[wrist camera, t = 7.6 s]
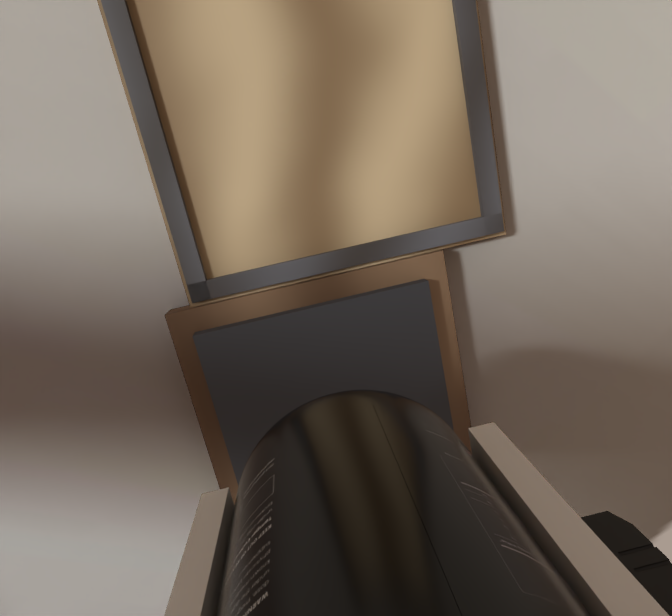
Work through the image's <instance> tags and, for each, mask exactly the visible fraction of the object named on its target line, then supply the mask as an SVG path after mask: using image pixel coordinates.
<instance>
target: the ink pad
mask: <svg viewBox="0 0 672 616" xmlns="http://www.w3.org/2000/svg"><path fill="white" fill-rule="evenodd" d="M192 337H193V340H194V343H195V346H196V350H197V353H198V356H199V359H200V363H201V366H202V369H203V372H204V376H205V379H206V382H207V385H208V389H209V392H210V395H211V398H212V402H213V405H214V408H215V411H216V415H217V418H218V421H219V425H220V428H221V431H222V434H223V438H224V441H225V444H226V447H227V451H228V454H229V457H230V460H231V464H232V467H233V470H234V473H235V477H236V480H237V483H238V486H239V483H240V479H241V476H242V472H243V470H244V467H245V465H246V462H247V460H248V459H249V457H250V455H251V453H252V451H253V450H254V448H255V447H256V445H257V444H258V442H259V441H260V440H261V439H262V437H263V436H264V435H265V434H266V432H267V431H268V430H269V429H270V428H271V427H272V426H273V425H274V424H275V423H277V422H278V421H279V420H280V419H281V418H283V417H284V416H285V415H287V414H288V413H289V412H291V411H292V410H294V409H296V408H297V407H299V406H301V405H303V404H305V403H307V402H309V401H311V400H314V399H316V398H319V397H322V396H325V395H328V394H332V393H336V392H341V391H348V390H362V389H364V390H379V391H386V392H390V393H394V394H398V395H401V396H404V397H407V398H410V399H412V400H414V401H416V402H418V403H420V404H422V405H424V406H425V407H427V408H429V409H430V410H432V411H433V412H434V413H436V414H437V415H438V416H439V417H440V418H442V419H443V420H444V421H445V422H446V423H447V424H448V425H449V426H450V427H451V429H452V430H453V431H454V429H453V423H452V417H451V411H450V405H449V399H448V393H447V387H446V381H445V376H444V370H443V364H442V358H441V352H440V346H439V340H438V334H437V328H436V322H435V317H434V311H433V305H432V299H431V293H430V287H429V281H428V280H426V279H420V280H416V281H411V282H407V283H403V284H399V285H394V286H390V287H386V288H382V289H377V290H373V291H369V292H364V293H360V294H356V295H352V296H347V297H343V298H339V299H334V300H330V301H326V302H322V303H317V304H313V305H309V306H305V307H300V308H296V309H292V310H287V311H283V312H279V313H275V314H270V315H266V316H262V317H258V318H253V319H249V320H245V321H240V322H236V323H232V324H228V325H223V326H219V327H215V328H211V329H206V330H202V331H198V332H195V333H194V335H193V336H192Z"/></svg>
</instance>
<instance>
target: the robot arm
mask: <svg viewBox="0 0 672 616" xmlns="http://www.w3.org/2000/svg"><path fill="white" fill-rule="evenodd" d="M468 431H469V438H470V444H471V450H472V455H473V456H474V458H475V459H476V460H477V462H478V463H479V464H480V466H481V467H482V468H483V470H484V471H485V472H486V474H487V475H488V476H489V478H490V479H491V481H492V482H493V483H494V485H495V486H496V487H497V489H498V490H499V491H500V493H501V494H502V495H503V497H504V498H505V499H506V501H507V502H508V504H509V505H510V506H511V508H512V509H513V510H514V512H515V513H516V514H517V516H518V517H519V518H520V520H521V521H522V522H523V524H524V525H525V526H526V528H527V529H528V531H529V532H530V533H531V535H532V536H533V537H534V539H535V540H536V541H537V543H538V544H539V545H540V547H541V548H542V549H543V551H544V552H545V554H546V555H547V556H548V558H549V559H550V560H551V562H552V563H553V564H554V566H555V567H556V568H557V570H558V571H559V572H560V574H561V575H562V576H563V578H564V579H565V581H566V582H567V583H568V585H569V586H570V587H571V589H572V590H573V591H574V593H575V594H576V595H577V597H578V598H579V599H580V601H581V602H582V604H583V605H584V606H585V608H586V609H587V610H588V612H589V613H590V614H591V616H672V564H671V563H670V561H669V559H668V558H667V557H666V556H665V555H664V554H663V553H662V552H661V551H660V550H659V549H658V548H657V547H654V546H653V544H652V543H651V542H650V541H649V540H648V539H647V538H646V537H645V536H644V535H643V534H642V533H641V532H640V531H639V530H638V529H637V528H636V527H635V526H634V525H633V524H631V523H629V522H627V521H625V520H623V519H621V518H619V517H617V516H616V515H614V514H612V513H610V512H608V511H605V512H601V513H597V514H593V515H589V516H585V517H581V518H580V517H579V515H578V514H577V513H576V512H575V511H574V510H573V509H572V508H571V507H570V506H569V504H568V503H567V502H566V501H565V500H564V499H563V498H562V497H561V496H560V495H559V493H558V492H557V491H556V490H555V489H554V488H553V487H552V486H551V485H550V483H549V482H548V481H547V480H546V479H545V478H544V477H543V476H542V475H541V474H540V472H539V471H538V470H537V469H536V468H535V467H534V466H533V465H532V464H531V463H530V461H529V460H528V459H527V458H526V457H525V456H524V455H523V454H522V453H521V452H520V450H519V449H518V448H517V447H516V446H515V445H514V444H513V443H512V442H511V441H510V439H509V438H508V437H507V436H506V435H505V434H504V433H503V432H502V431H501V429H500V428H499V427H498V426H497V425H496V424H495V423H494V422H492V423H488V424H484V425H480V426H475V427H471V428H468ZM233 511H234V502H233V499H232V496H231V493H230V490H229V487H228V488H224V489H220V490H216V491H212V492H208V493H204V494H202V495H201V498H200V502H199V505H198V508H197V511H196V515H195V518H194V521H193V524H192V528H191V531H190V534H189V537H188V541H187V544H186V547H185V550H184V554H183V557H182V560H181V563H180V567H179V570H178V573H177V576H176V580H175V583H174V586H173V589H172V592H171V596H170V599H169V602H168V605H167V609H166V612H165V615H164V616H216V613H217V607H218V601H219V595H220V589H221V583H222V577H223V571H224V565H225V559H226V553H227V547H228V541H229V535H230V529H231V523H232V517H233Z"/></svg>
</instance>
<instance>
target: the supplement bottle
mask: <svg viewBox="0 0 672 616" xmlns="http://www.w3.org/2000/svg"><path fill="white" fill-rule="evenodd" d="M216 616H591V614H590V613H589V612H588V610H587V609H586V608H585V606H584V605H583V604H582V602H581V601H580V599H579V598H578V597H577V595H576V594H575V593H574V591H573V590H572V589H571V587H570V586H569V585H568V583H567V582H566V581H565V579H564V578H563V576H562V575H561V574H560V572H559V571H558V570H557V568H556V567H555V566H554V564H553V563H552V562H551V560H550V559H549V558H548V556H547V555H546V554H545V552H544V551H543V549H542V548H541V547H540V545H539V544H538V543H537V541H536V540H535V539H534V537H533V536H532V535H531V533H530V532H529V531H528V529H527V528H526V526H525V525H524V524H523V522H522V521H521V520H520V518H519V517H518V516H517V514H516V513H515V512H514V510H513V509H512V508H511V506H510V505H509V504H508V502H507V501H506V499H505V498H504V497H503V495H502V494H501V493H500V491H499V490H498V489H497V487H496V486H495V485H494V483H493V482H492V481H491V479H490V478H489V476H488V475H487V474H486V472H485V471H484V470H483V468H482V467H481V466H480V464H479V463H478V462H477V460H476V459H475V458H474V456H473V455H472V454H471V452H470V451H469V449H468V448H467V447H466V446H465V445H464V443H463V442H462V441H461V439H460V438H459V437H458V436H457V434H456V433H455V432H454V431H453V430H452V429H451V427H450V426H449V425H448V424H447V423H446V422H445V421H444V420H443V419H442V418H440V417H439V416H438V415H437V414H436V413H434V412H433V411H432V410H430V409H429V408H427V407H425V406H424V405H422V404H420V403H418V402H416V401H414V400H412V399H410V398H407V397H404V396H401V395H398V394H394V393H390V392H386V391H379V390H364V389H362V390H348V391H341V392H336V393H332V394H328V395H325V396H322V397H319V398H316V399H314V400H311V401H309V402H307V403H305V404H303V405H301V406H299V407H297V408H296V409H294V410H292V411H291V412H289V413H288V414H287V415H285V416H284V417H283V418H281V419H280V420H279V421H278V422H277V423H275V424H274V425H273V426H272V427H271V428H270V429H269V430H268V431H267V432H266V434H265V435H264V436H263V437H262V439H261V440H260V441H259V442H258V444H257V445H256V447H255V448H254V450H253V451H252V453H251V455H250V457H249V459H248V460H247V462H246V465H245V467H244V470H243V472H242V476H241V479H240V483H239V486H238V490H237V496H236V501H235V506H234V511H233V517H232V523H231V529H230V535H229V541H228V547H227V553H226V559H225V565H224V571H223V577H222V583H221V589H220V595H219V601H218V607H217V613H216Z"/></svg>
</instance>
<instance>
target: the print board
mask: <svg viewBox="0 0 672 616" xmlns="http://www.w3.org/2000/svg"><path fill="white" fill-rule="evenodd" d="M97 1H98V5H99V8H100V11H101V15H102V18H103V21H104V25H105V28H106V31H107V34H108V38H109V41H110V44H111V48H112V51H113V54H114V57H115V61H116V64H117V67H118V71H119V74H120V77H121V81H122V84H123V87H124V90H125V94H126V97H127V100H128V104H129V107H130V110H131V113H132V117H133V120H134V123H135V127H136V130H137V133H138V137H139V140H140V143H141V146H142V150H143V153H144V156H145V160H146V163H147V166H148V169H149V173H150V176H151V179H152V183H153V186H154V189H155V193H156V196H157V199H158V202H159V206H160V209H161V212H162V216H163V219H164V222H165V225H166V229H167V232H168V235H169V239H170V242H171V245H172V249H173V252H174V255H175V258H176V262H177V265H178V268H179V272H180V275H181V278H182V281H183V285H184V288H185V291H186V295H187V298H188V301H189V304H190V307H194V306H199V305H203V304H207V303H212V302H216V301H220V300H225V299H229V298H233V297H238V296H242V295H246V294H251V293H255V292H259V291H264V290H268V289H272V288H276V287H281V286H285V285H289V284H294V283H298V282H302V281H307V280H311V279H315V278H320V277H324V276H328V275H333V274H337V273H341V272H346V271H350V270H354V269H359V268H363V267H367V266H372V265H376V264H380V263H384V262H389V261H393V260H397V259H402V258H406V257H410V256H415V255H419V254H423V253H428V252H432V251H436V250H441V249H445V248H449V247H454V246H458V245H462V244H467V243H471V242H475V241H480V240H484V239H488V238H492V237H497V236H501V235H505V234H506V229H505V221H504V212H503V204H502V196H501V188H500V180H499V172H498V164H497V156H496V148H495V140H494V132H493V124H492V116H491V108H490V100H489V92H488V84H487V76H486V67H485V59H484V51H483V43H482V35H481V27H480V19H479V11H478V3H477V0H97Z"/></svg>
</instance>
